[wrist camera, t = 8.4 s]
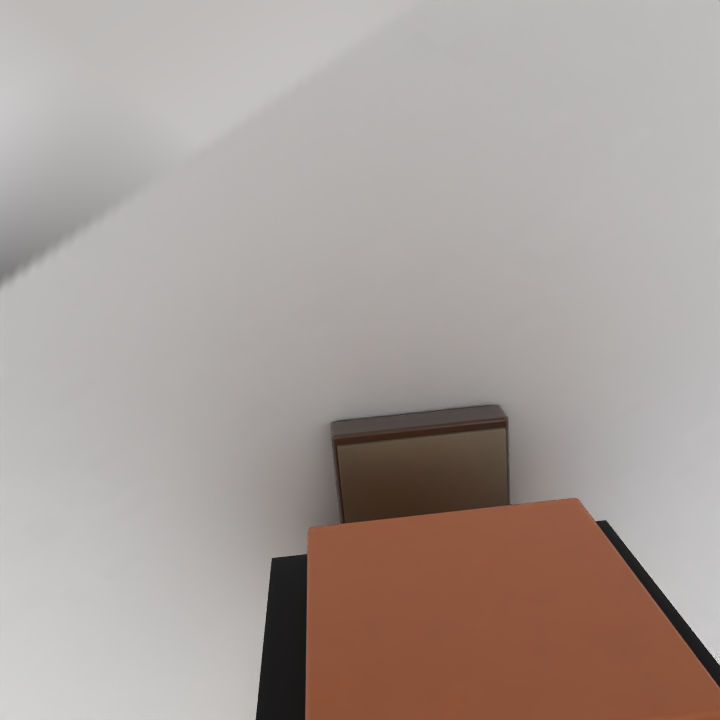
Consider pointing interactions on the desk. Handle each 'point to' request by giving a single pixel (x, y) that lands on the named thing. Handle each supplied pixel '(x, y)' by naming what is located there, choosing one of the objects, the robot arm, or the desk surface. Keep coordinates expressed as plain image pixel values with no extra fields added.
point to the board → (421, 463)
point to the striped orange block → (490, 623)
